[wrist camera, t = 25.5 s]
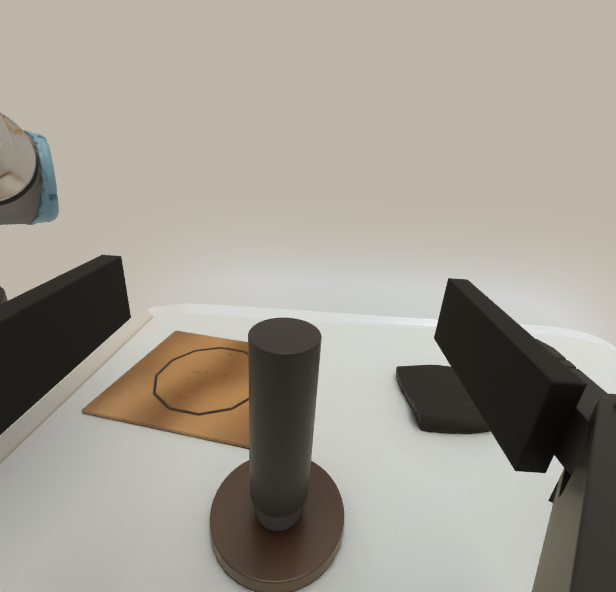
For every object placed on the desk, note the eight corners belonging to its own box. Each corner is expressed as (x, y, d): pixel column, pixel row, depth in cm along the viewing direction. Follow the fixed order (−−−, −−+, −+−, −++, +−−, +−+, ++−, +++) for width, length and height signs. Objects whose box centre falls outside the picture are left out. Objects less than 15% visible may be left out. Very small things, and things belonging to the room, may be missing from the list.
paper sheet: (82, 412, 28) (81, 409, 28) (175, 332, 41) (175, 330, 41) (268, 453, 26) (269, 449, 25) (307, 354, 38) (307, 351, 38)
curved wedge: (575, 438, 29) (582, 423, 28) (415, 432, 28) (419, 416, 28) (518, 377, 36) (523, 364, 36) (392, 371, 36) (394, 358, 35)
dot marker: (241, 529, 19) (236, 346, 15) (260, 477, 22) (261, 313, 18) (300, 543, 19) (314, 359, 14) (311, 489, 22) (326, 323, 17)
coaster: (184, 571, 18) (182, 559, 18) (241, 452, 25) (240, 442, 25) (333, 614, 17) (335, 602, 16) (348, 476, 24) (350, 465, 24)
